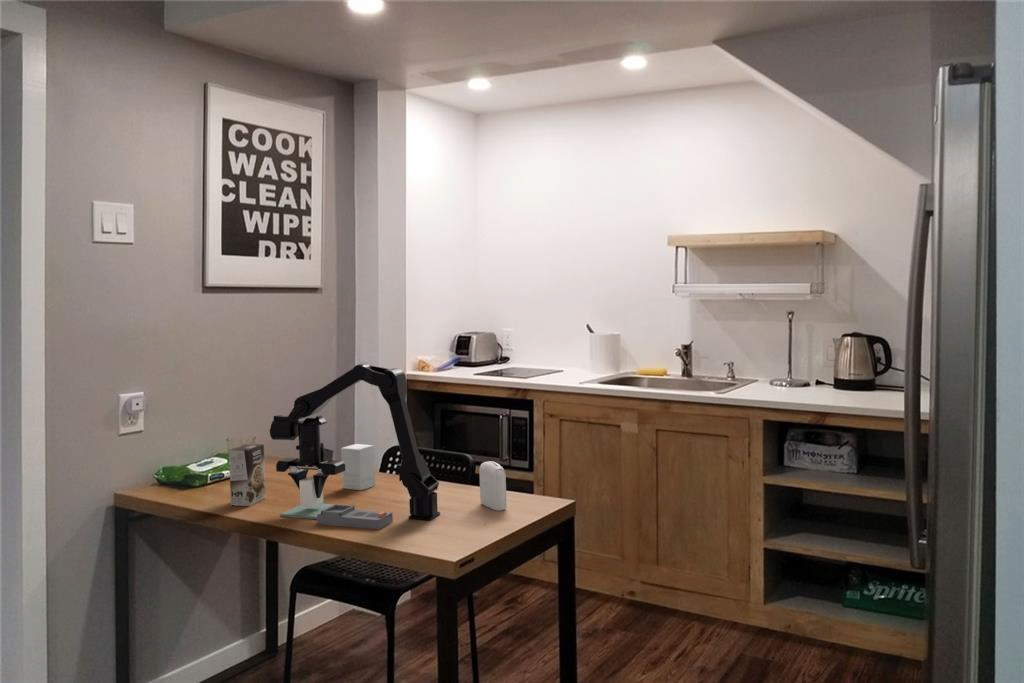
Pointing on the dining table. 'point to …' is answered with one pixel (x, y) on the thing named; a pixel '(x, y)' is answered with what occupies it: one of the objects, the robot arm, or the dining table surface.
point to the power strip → (354, 517)
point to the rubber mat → (306, 511)
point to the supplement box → (358, 466)
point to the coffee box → (247, 474)
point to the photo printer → (492, 485)
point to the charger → (309, 493)
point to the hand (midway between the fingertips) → (311, 497)
